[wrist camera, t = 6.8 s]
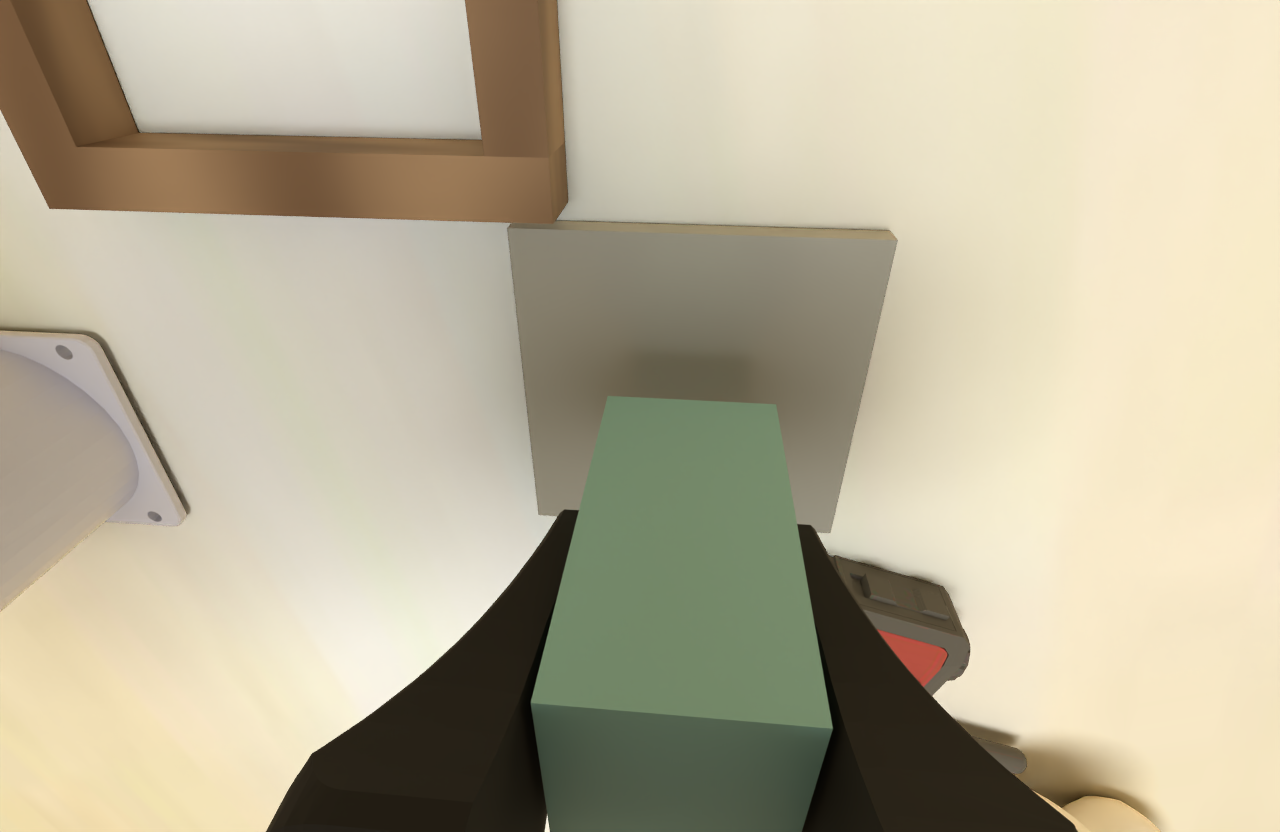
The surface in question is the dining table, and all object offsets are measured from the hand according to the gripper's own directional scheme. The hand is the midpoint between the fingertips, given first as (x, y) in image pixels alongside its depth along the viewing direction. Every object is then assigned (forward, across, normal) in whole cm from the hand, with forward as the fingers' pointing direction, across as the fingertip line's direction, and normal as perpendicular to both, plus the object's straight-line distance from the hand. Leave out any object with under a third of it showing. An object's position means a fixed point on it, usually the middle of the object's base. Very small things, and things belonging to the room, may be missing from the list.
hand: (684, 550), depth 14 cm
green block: (+3, 0, 0) cm, 3 cm away
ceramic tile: (+7, 0, 0) cm, 7 cm away
